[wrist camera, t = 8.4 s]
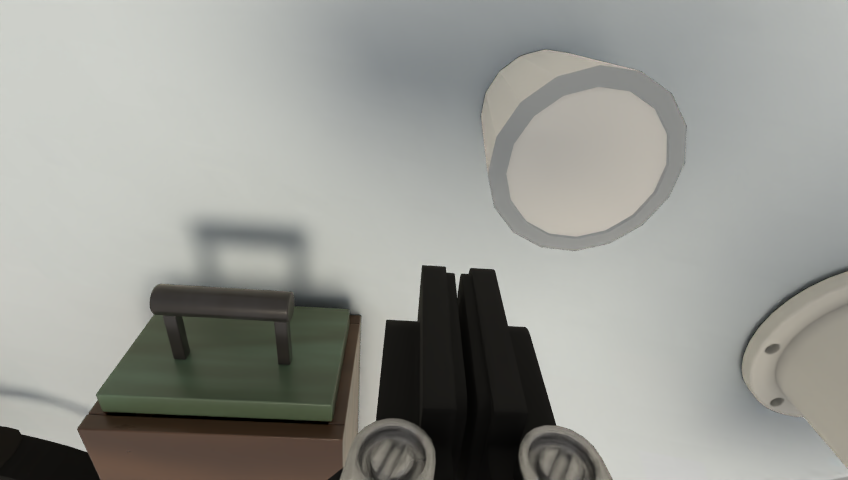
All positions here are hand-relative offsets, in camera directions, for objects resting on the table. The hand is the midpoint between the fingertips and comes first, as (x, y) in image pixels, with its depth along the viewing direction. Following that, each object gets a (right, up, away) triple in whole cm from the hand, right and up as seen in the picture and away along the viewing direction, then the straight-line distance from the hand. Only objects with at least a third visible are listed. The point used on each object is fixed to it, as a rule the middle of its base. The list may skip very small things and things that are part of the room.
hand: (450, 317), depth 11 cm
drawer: (-11, -5, +18) cm, 21 cm away
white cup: (+5, +8, +11) cm, 15 cm away
